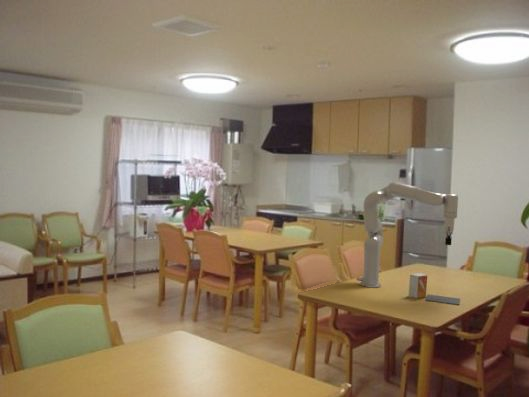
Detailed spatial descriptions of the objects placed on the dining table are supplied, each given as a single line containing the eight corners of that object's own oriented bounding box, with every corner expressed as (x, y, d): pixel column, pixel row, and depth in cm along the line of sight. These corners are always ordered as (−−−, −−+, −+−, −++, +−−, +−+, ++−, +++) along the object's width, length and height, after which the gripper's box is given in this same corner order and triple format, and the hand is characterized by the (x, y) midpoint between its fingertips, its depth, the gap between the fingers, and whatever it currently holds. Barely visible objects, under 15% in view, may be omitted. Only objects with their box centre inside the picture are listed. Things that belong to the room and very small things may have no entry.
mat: (424, 300, 278) (425, 299, 278) (427, 295, 291) (427, 294, 291) (459, 305, 271) (459, 304, 271) (460, 299, 284) (460, 298, 284)
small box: (417, 298, 282) (418, 276, 281) (408, 296, 287) (409, 274, 286) (426, 297, 286) (427, 275, 285) (417, 294, 291) (418, 272, 291)
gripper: (443, 213, 299) (441, 241, 300) (443, 215, 283) (441, 245, 284) (456, 214, 296) (455, 242, 297) (457, 216, 280) (455, 246, 281)
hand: (448, 243), depth 291 cm, fingers open, 9 cm apart
